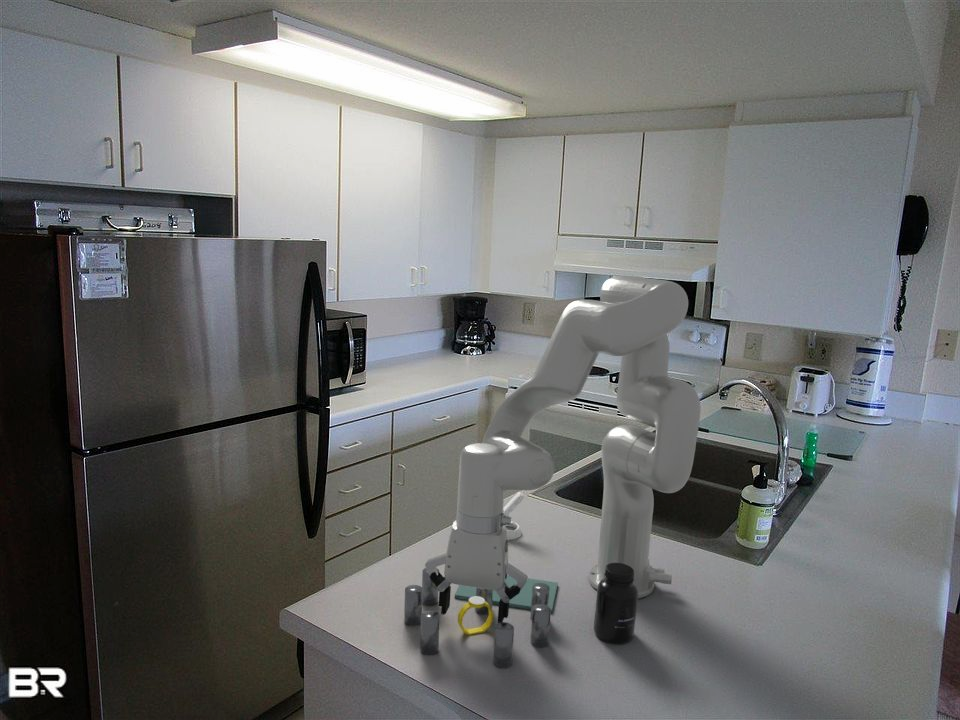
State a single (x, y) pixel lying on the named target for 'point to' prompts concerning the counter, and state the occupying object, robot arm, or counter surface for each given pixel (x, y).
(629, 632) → the supplement bottle
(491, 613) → the watch
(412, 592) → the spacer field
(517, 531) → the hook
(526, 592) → the mat
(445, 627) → the counter surface
